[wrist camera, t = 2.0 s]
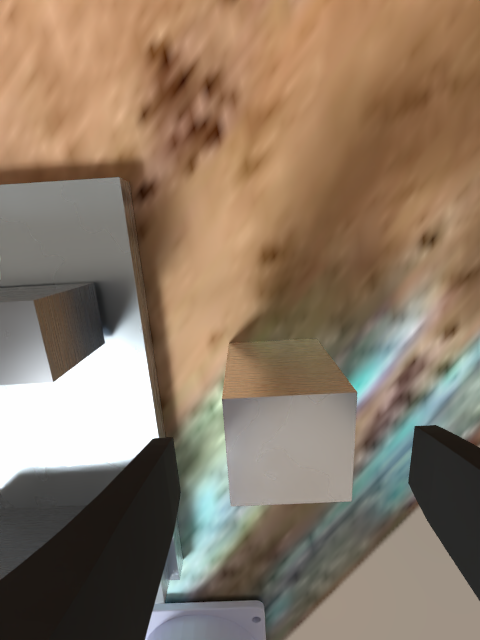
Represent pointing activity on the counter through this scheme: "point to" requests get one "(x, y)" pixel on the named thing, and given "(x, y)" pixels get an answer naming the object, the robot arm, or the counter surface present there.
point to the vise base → (87, 376)
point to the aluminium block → (287, 424)
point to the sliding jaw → (47, 331)
